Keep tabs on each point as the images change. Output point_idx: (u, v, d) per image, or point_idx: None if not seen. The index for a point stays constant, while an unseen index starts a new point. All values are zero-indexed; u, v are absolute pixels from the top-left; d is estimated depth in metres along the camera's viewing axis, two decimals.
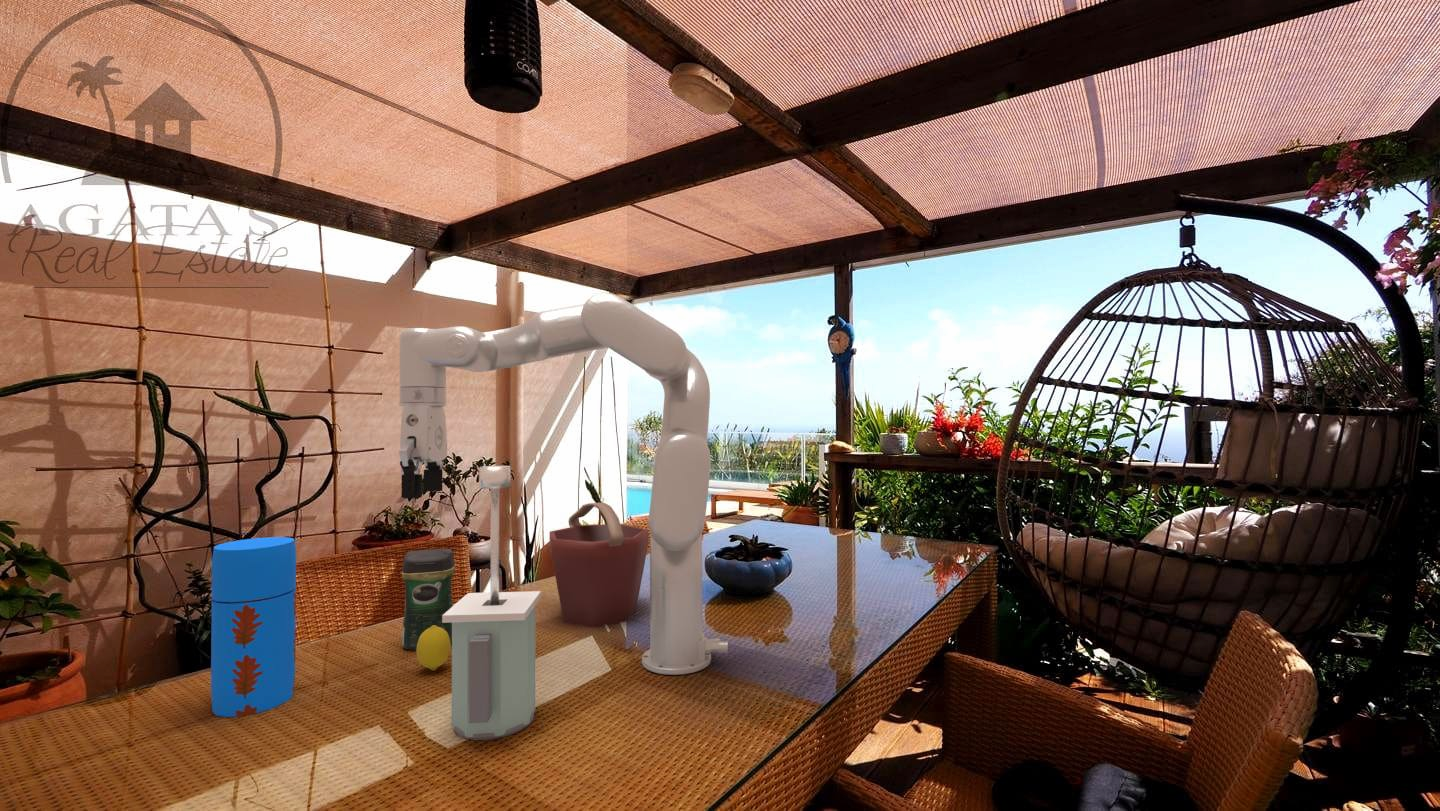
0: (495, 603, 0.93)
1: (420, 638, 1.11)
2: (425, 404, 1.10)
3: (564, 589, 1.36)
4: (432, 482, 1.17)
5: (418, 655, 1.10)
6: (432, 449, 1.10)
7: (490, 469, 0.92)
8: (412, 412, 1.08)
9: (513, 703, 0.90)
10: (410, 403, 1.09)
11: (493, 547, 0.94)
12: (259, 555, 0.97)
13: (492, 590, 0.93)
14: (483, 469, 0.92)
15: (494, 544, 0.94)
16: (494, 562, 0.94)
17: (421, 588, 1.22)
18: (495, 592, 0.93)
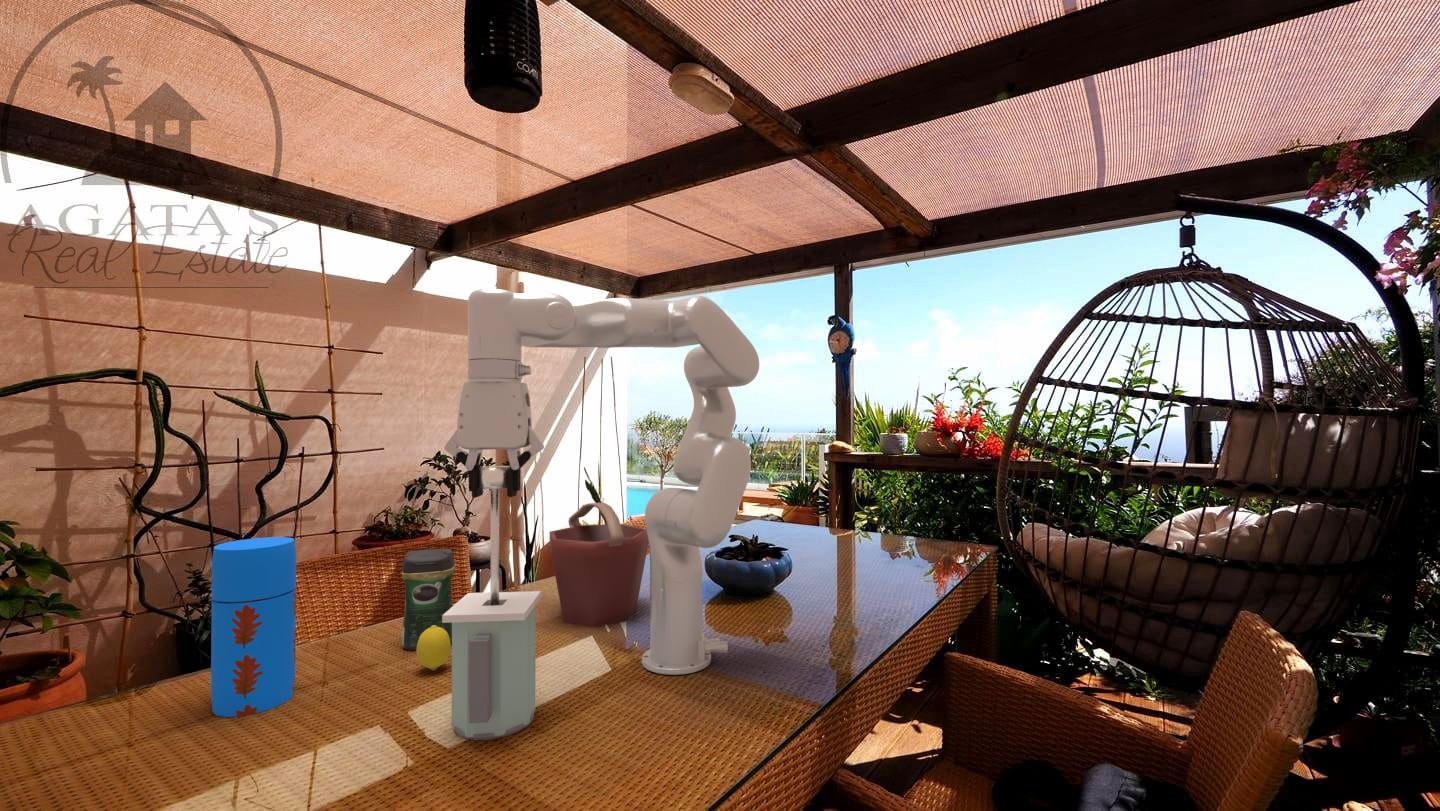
0: (495, 604, 0.93)
1: (420, 638, 1.11)
2: None
3: (564, 589, 1.36)
4: None
5: (418, 655, 1.10)
6: None
7: (490, 469, 0.92)
8: (526, 390, 0.95)
9: (513, 703, 0.90)
10: (518, 380, 0.94)
11: (493, 547, 0.94)
12: (259, 555, 0.97)
13: (492, 590, 0.93)
14: (483, 469, 0.92)
15: (494, 544, 0.94)
16: (494, 562, 0.94)
17: (421, 588, 1.22)
18: (495, 592, 0.93)
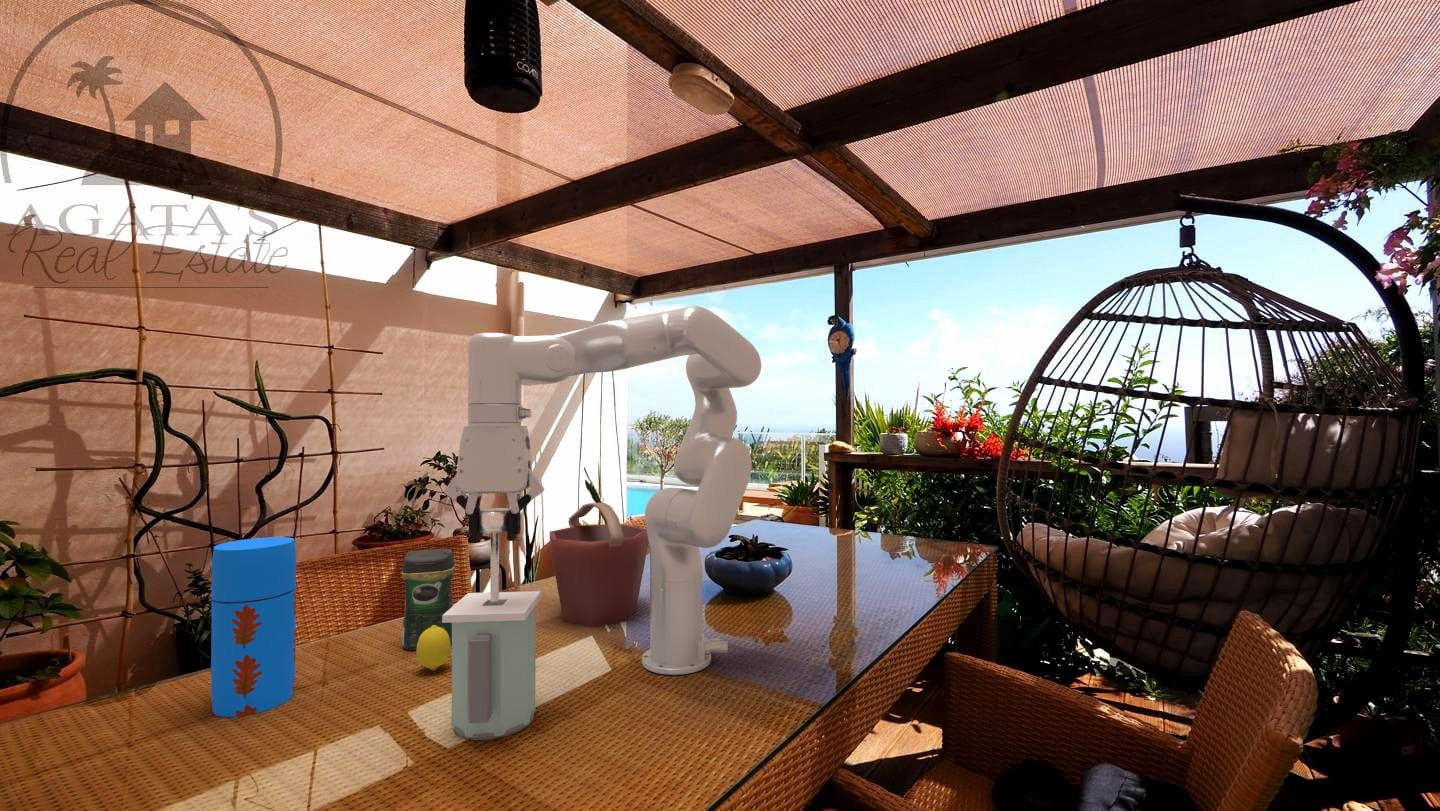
0: None
1: (420, 638, 1.11)
2: None
3: (564, 589, 1.36)
4: None
5: (418, 655, 1.10)
6: None
7: (490, 513, 0.92)
8: (526, 433, 0.95)
9: (513, 703, 0.90)
10: (518, 423, 0.94)
11: (493, 591, 0.93)
12: (259, 555, 0.97)
13: None
14: (483, 513, 0.92)
15: (494, 588, 0.93)
16: None
17: (421, 588, 1.22)
18: None
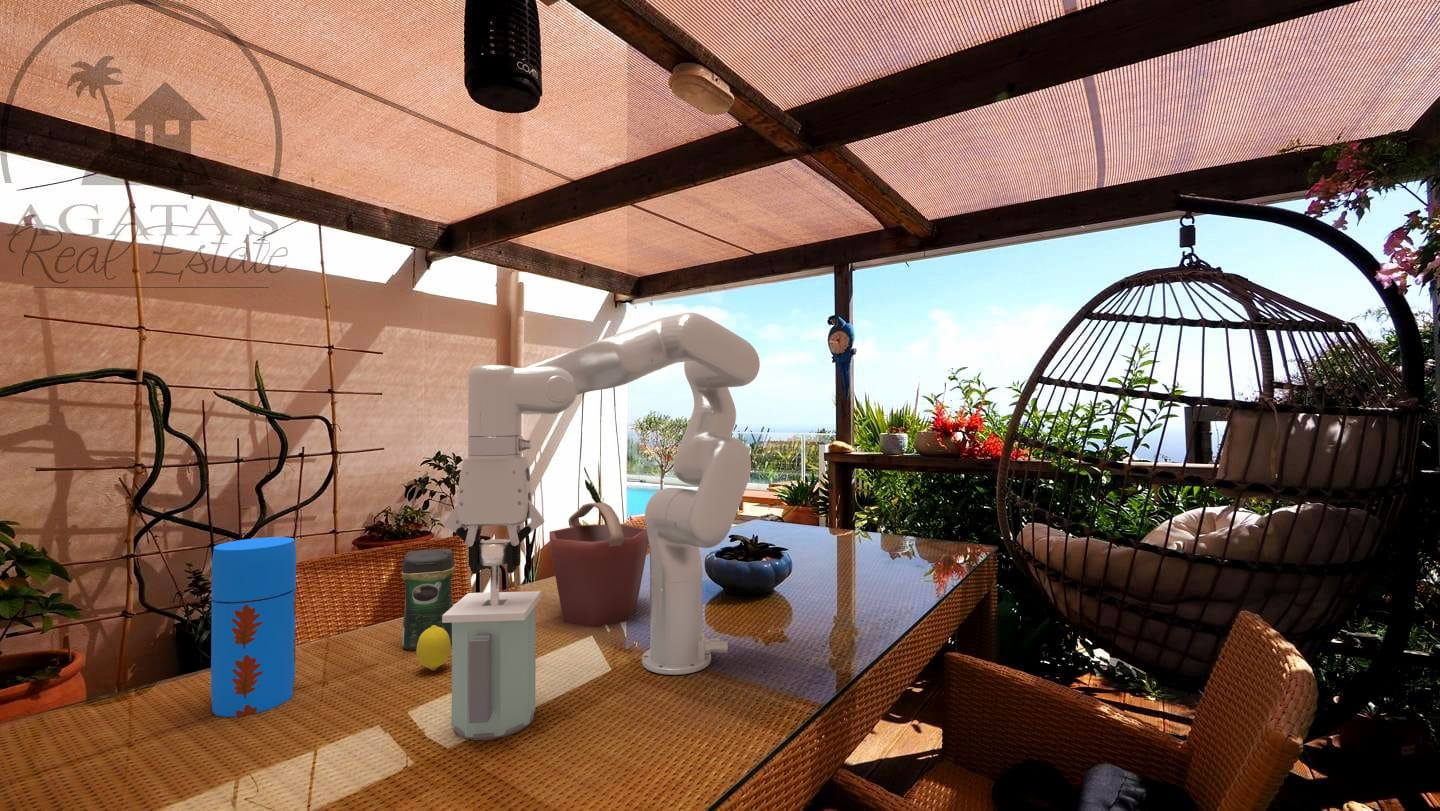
0: None
1: (420, 638, 1.11)
2: None
3: (564, 589, 1.36)
4: None
5: (418, 655, 1.10)
6: None
7: (490, 546, 0.92)
8: (526, 465, 0.95)
9: (513, 703, 0.90)
10: (518, 455, 0.94)
11: None
12: (259, 555, 0.97)
13: None
14: (483, 546, 0.92)
15: None
16: None
17: (421, 588, 1.22)
18: None
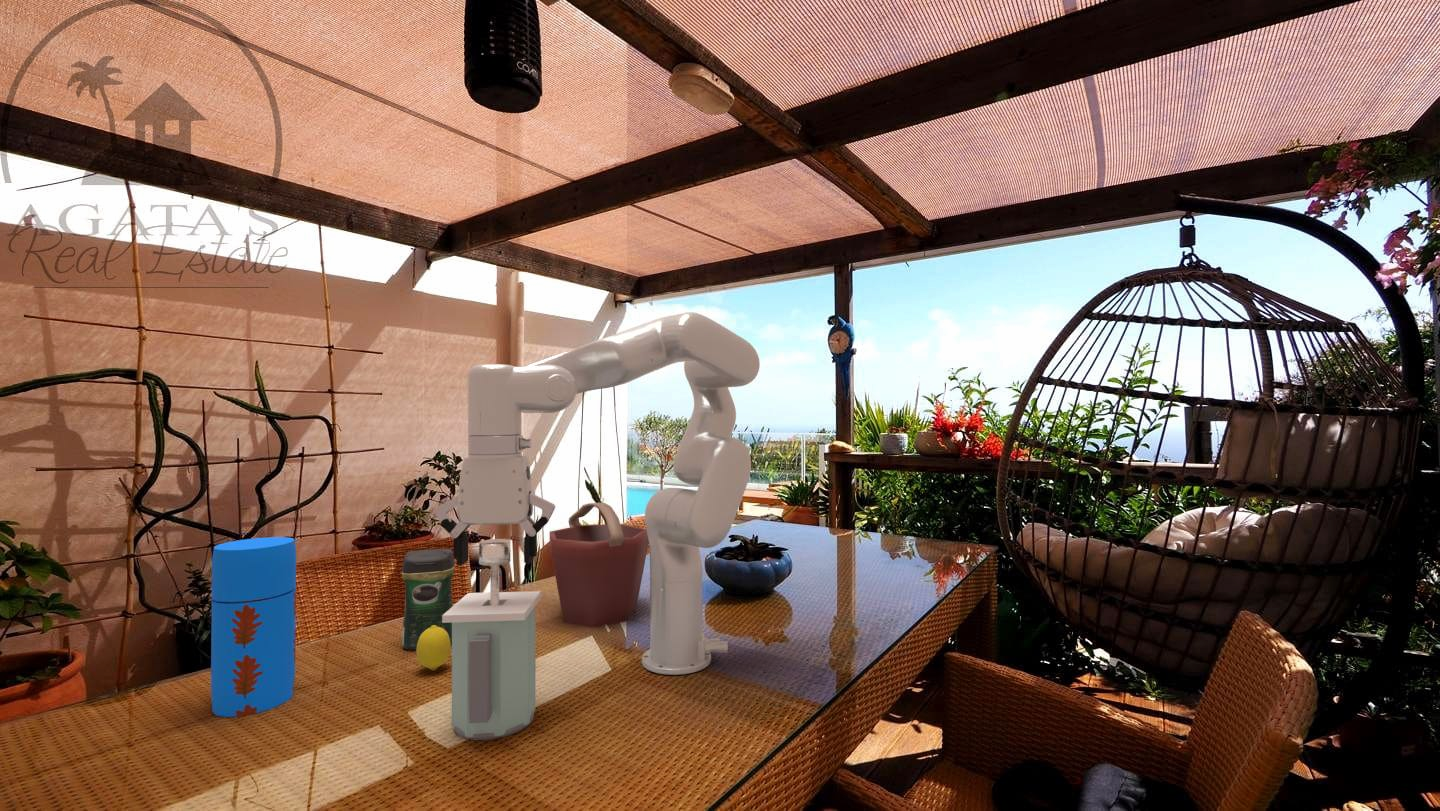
0: None
1: (420, 638, 1.11)
2: None
3: (564, 589, 1.36)
4: (465, 552, 0.94)
5: (418, 655, 1.10)
6: None
7: (490, 546, 0.92)
8: (526, 464, 0.95)
9: (513, 703, 0.90)
10: (518, 454, 0.94)
11: None
12: (259, 555, 0.97)
13: None
14: (483, 546, 0.92)
15: None
16: None
17: (421, 588, 1.22)
18: None
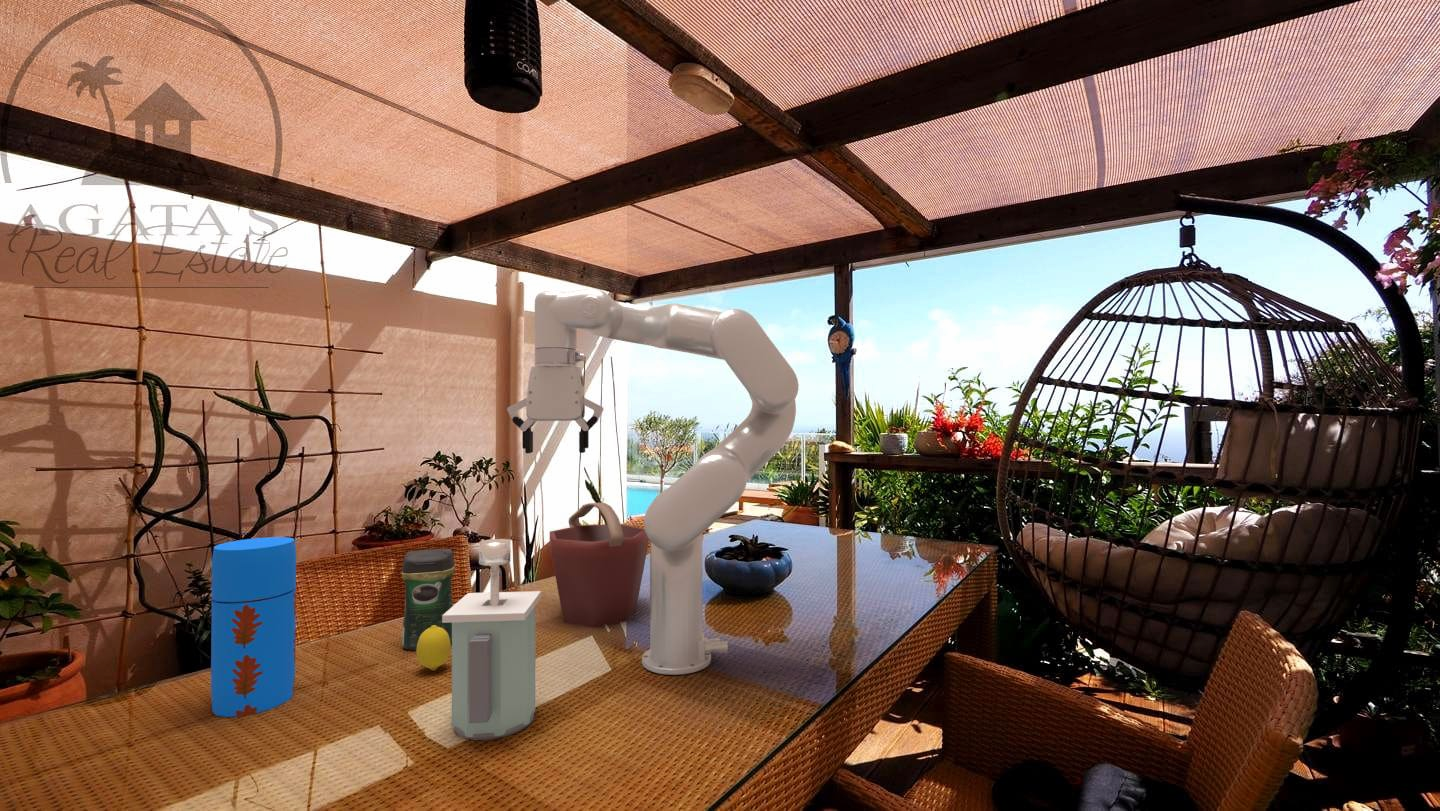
0: None
1: (420, 638, 1.11)
2: None
3: (564, 589, 1.36)
4: (531, 443, 1.16)
5: (418, 655, 1.10)
6: None
7: (490, 546, 0.92)
8: (581, 373, 1.17)
9: (513, 703, 0.90)
10: (575, 365, 1.16)
11: None
12: (259, 555, 0.97)
13: None
14: (483, 546, 0.92)
15: None
16: None
17: (421, 588, 1.22)
18: None
